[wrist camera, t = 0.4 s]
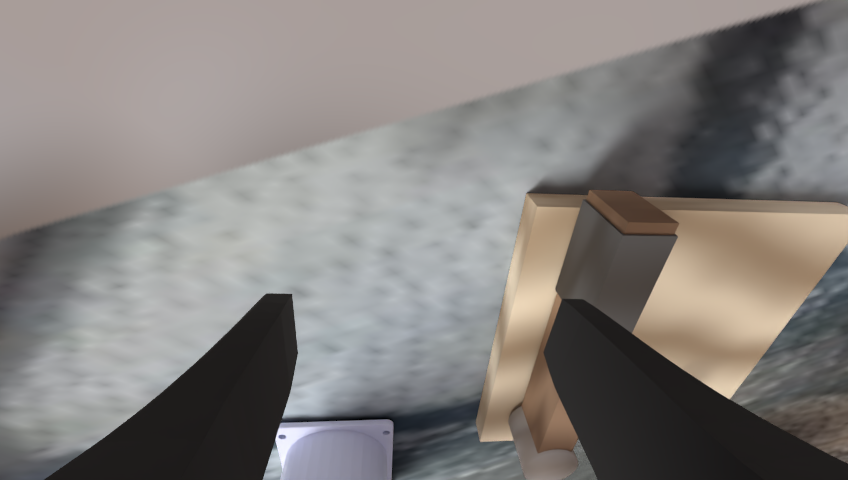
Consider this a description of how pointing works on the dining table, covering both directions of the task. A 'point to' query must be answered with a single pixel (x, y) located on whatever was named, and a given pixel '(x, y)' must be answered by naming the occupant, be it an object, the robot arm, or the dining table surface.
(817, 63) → the dining table surface
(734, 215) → the board
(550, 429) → the lever
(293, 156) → the dining table surface
